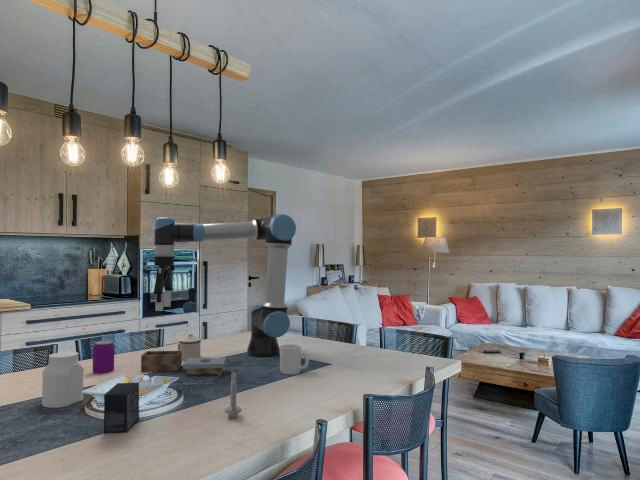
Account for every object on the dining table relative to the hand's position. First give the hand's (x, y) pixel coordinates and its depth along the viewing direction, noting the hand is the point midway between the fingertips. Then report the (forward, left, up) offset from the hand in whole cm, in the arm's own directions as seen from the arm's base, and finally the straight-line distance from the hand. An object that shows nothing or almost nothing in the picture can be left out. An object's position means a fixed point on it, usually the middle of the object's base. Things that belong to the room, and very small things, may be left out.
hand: (163, 308), depth 185 cm
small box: (-3, +58, -25) cm, 64 cm away
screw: (-33, +54, -25) cm, 68 cm away
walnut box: (0, 0, -25) cm, 25 cm away
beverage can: (+22, +1, -25) cm, 34 cm away
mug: (-53, +7, -25) cm, 59 cm away
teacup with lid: (-7, -18, -25) cm, 31 cm away
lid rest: (-18, +6, -25) cm, 31 cm away
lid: (-18, +6, -21) cm, 28 cm away
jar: (+22, +36, -25) cm, 49 cm away
